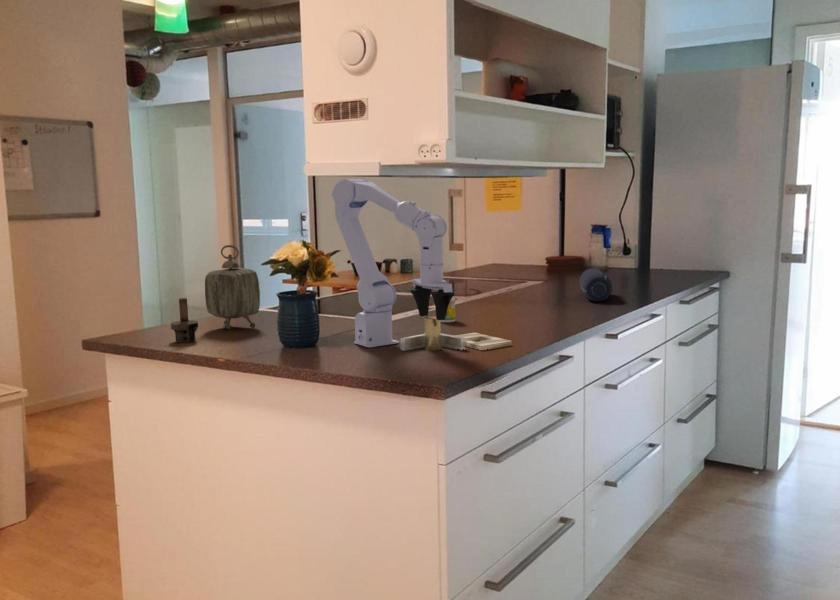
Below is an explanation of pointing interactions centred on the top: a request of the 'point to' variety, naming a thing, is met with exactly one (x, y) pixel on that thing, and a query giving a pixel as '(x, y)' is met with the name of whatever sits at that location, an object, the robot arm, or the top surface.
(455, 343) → the grey angled bracket
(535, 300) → the top surface
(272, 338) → the top surface
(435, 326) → the brass axle
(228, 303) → the tabletop clock
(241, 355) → the top surface
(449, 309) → the supplement bottle
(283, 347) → the top surface
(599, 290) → the portable speaker
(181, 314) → the industrial component
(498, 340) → the beige plate with hole
